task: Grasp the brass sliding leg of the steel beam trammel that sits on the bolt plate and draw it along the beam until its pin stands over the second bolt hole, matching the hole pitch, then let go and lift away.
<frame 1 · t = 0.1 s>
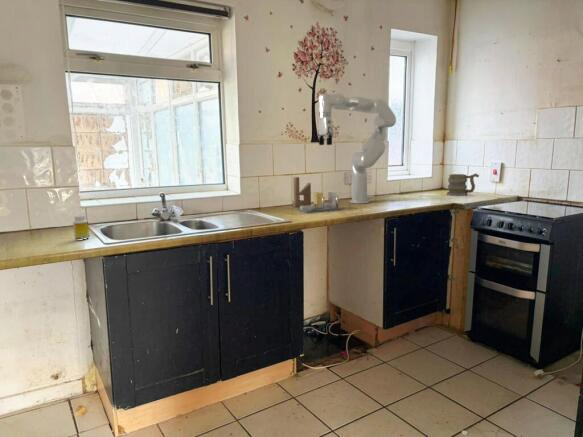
hand: (325, 144, 263), 37 cm above the worktop, tool pointing down, fingers open, 9 cm apart
bolt plate: (319, 210, 252), on the worktop
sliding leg: (320, 200, 250), point 6 cm above the worktop, slide at 0.0 cm
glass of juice: (82, 240, 187), on the worktop
tankard: (462, 195, 302), on the worktop
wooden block: (302, 206, 268), on the worktop
trammel beam: (318, 209, 253), resting on bolt plate
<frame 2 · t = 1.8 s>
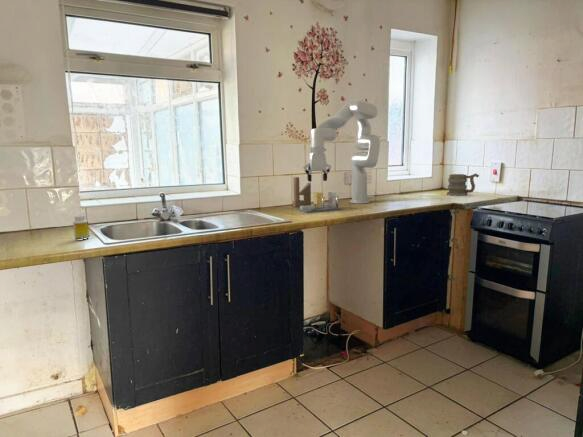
hand: (317, 181, 250), 17 cm above the worktop, tool pointing down, fingers open, 9 cm apart
nothing on the worktop moved.
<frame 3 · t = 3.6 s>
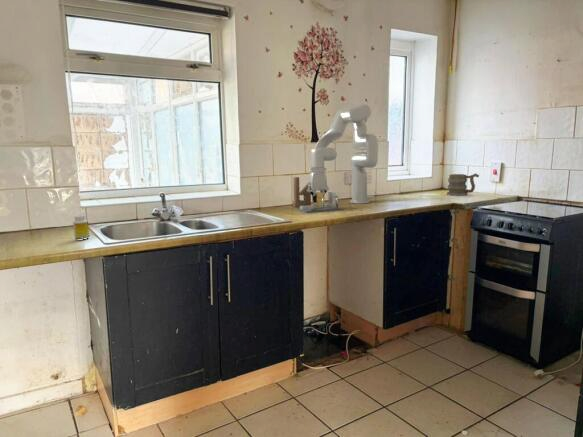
hand: (318, 202, 252), 5 cm above the worktop, tool pointing down, fingers closed on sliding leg, 4 cm apart
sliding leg: (320, 200, 250), point 6 cm above the worktop, slide at 0.0 cm, touching gripper
everything else where it was.
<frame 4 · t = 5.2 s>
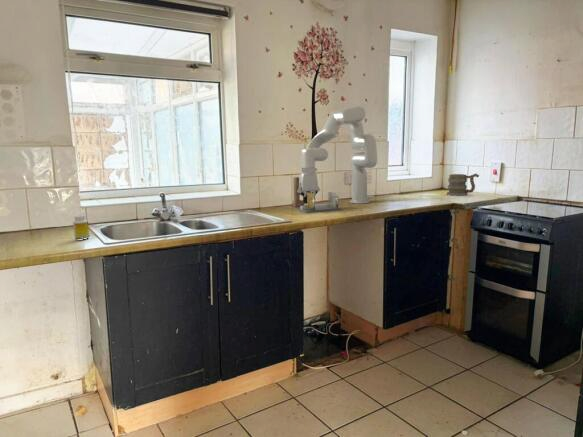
hand: (309, 202, 250), 5 cm above the worktop, tool pointing down, fingers closed on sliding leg, 4 cm apart
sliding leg: (310, 201, 247), point 6 cm above the worktop, slide at 5.9 cm, touching gripper
everything else where it was.
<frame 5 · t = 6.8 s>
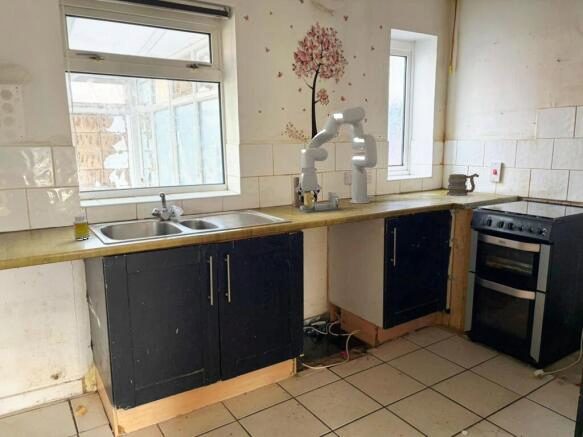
hand: (308, 201, 250), 5 cm above the worktop, tool pointing down, fingers open, 7 cm apart
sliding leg: (310, 201, 247), point 6 cm above the worktop, slide at 6.0 cm
everything else where it was.
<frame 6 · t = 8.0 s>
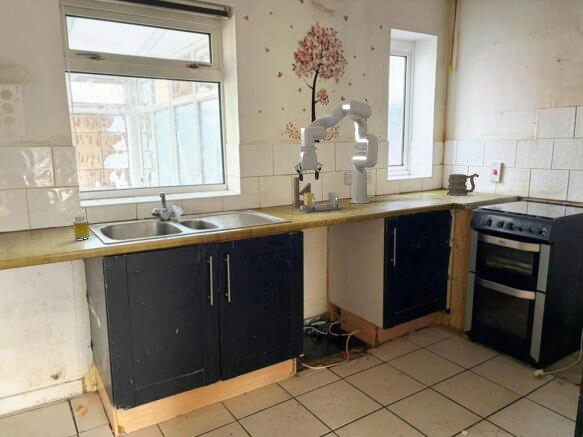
hand: (309, 180, 248), 17 cm above the worktop, tool pointing down, fingers open, 9 cm apart
nothing on the worktop moved.
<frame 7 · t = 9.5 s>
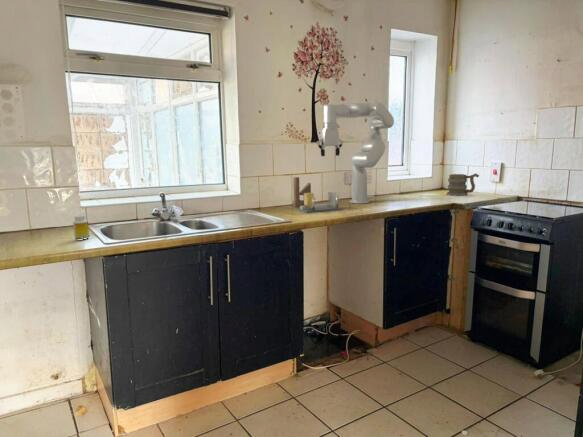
hand: (330, 155, 259), 30 cm above the worktop, tool pointing down, fingers open, 9 cm apart
nothing on the worktop moved.
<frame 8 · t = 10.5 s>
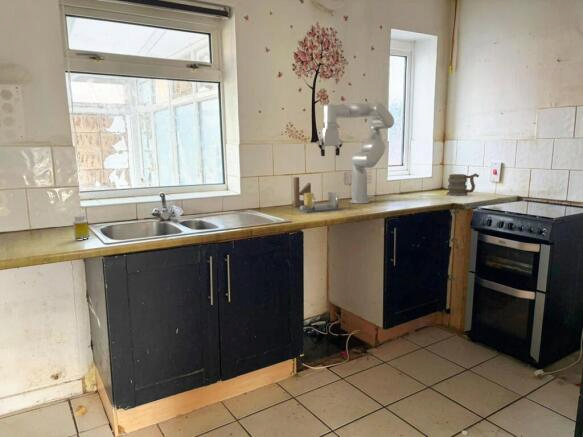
hand: (330, 155, 259), 30 cm above the worktop, tool pointing down, fingers open, 9 cm apart
nothing on the worktop moved.
at the end: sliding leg slide at 6.0 cm; the gripper is holding nothing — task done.
